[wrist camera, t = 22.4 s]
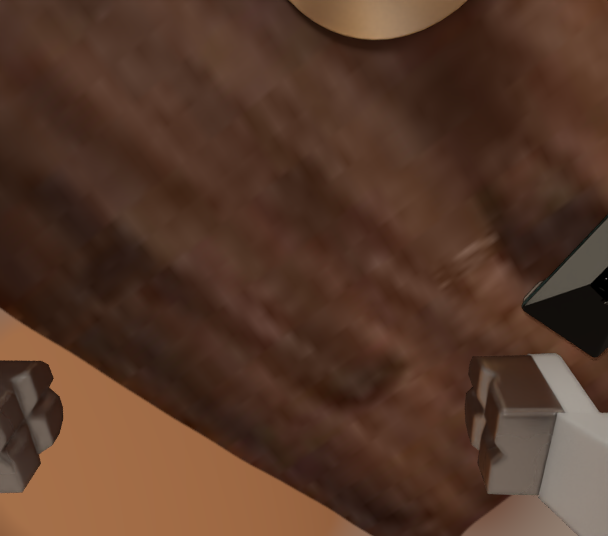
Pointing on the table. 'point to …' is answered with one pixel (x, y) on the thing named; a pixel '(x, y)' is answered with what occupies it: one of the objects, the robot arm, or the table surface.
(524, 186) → the table surface
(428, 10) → the mat
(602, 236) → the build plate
